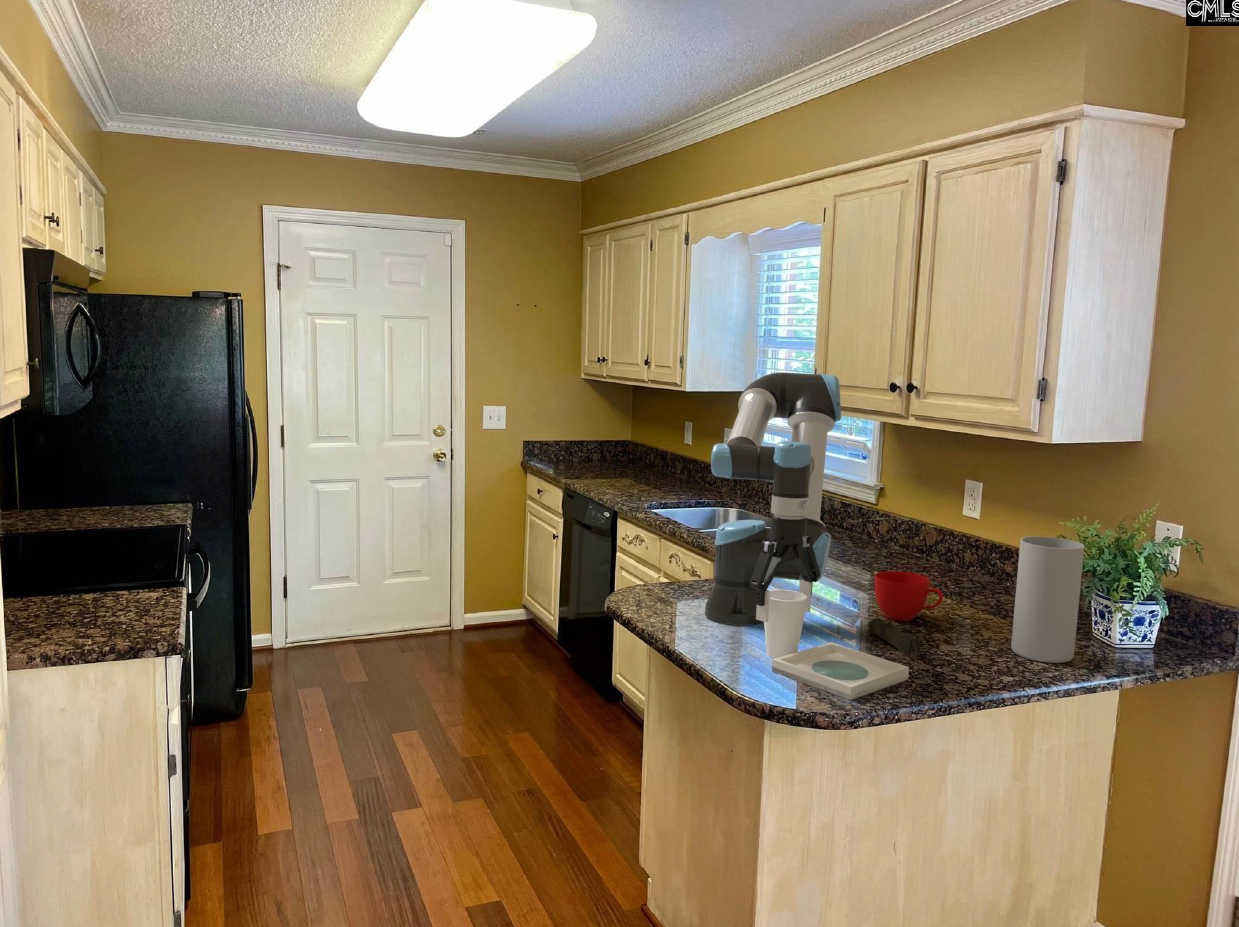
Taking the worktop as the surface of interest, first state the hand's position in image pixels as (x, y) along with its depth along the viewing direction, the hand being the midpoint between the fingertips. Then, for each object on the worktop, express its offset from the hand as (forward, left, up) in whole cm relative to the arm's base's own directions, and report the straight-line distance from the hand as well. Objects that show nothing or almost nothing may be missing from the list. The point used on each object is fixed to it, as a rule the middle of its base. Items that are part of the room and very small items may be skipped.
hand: (783, 615), depth 197 cm
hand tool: (+11, +27, -9) cm, 30 cm away
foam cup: (0, 0, -9) cm, 9 cm away
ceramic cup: (0, +47, -9) cm, 48 cm away
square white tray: (+15, 0, -9) cm, 17 cm away
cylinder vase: (+33, +48, -9) cm, 59 cm away
